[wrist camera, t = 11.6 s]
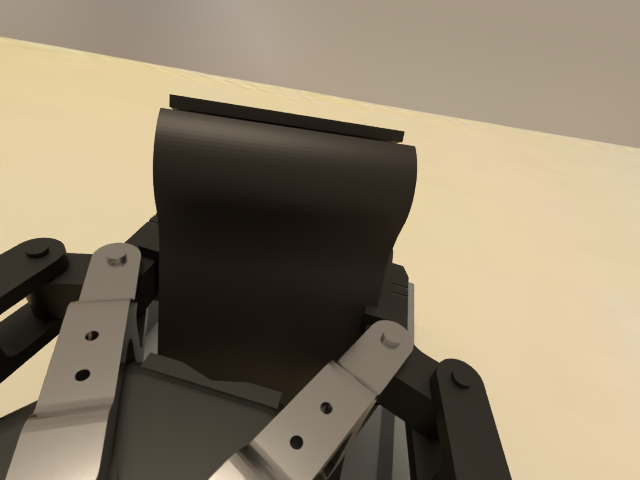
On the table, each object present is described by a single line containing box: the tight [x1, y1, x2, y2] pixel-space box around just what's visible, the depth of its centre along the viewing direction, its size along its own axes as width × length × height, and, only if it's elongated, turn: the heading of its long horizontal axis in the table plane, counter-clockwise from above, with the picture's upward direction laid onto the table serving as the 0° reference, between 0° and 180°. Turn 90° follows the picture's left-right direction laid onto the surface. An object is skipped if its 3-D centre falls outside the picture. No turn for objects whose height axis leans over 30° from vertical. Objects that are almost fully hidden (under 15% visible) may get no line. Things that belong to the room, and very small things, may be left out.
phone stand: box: [153, 94, 417, 480], centre depth 13 cm, size 9×6×12 cm, turn 6°
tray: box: [144, 282, 414, 480], centre depth 16 cm, size 14×17×3 cm
